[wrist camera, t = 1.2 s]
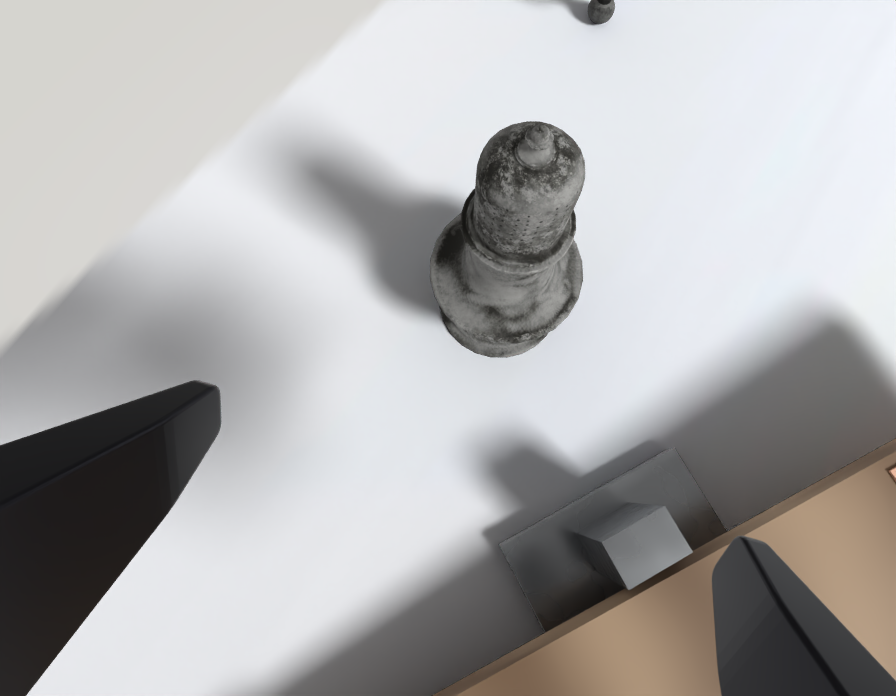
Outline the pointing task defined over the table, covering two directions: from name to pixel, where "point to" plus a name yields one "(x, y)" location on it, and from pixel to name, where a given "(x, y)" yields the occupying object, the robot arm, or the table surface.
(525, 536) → the beam stand
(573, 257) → the grey rounded piece
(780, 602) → the robot arm
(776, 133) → the table surface
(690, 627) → the beam
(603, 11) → the microphone
